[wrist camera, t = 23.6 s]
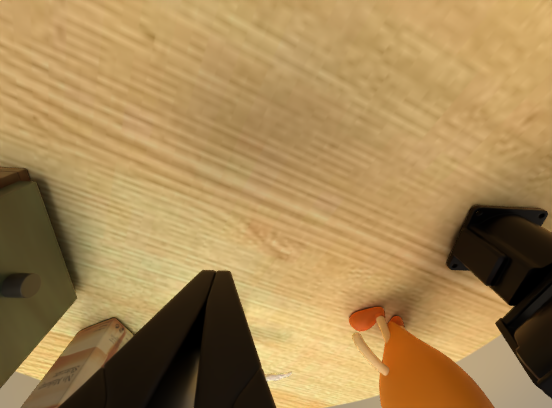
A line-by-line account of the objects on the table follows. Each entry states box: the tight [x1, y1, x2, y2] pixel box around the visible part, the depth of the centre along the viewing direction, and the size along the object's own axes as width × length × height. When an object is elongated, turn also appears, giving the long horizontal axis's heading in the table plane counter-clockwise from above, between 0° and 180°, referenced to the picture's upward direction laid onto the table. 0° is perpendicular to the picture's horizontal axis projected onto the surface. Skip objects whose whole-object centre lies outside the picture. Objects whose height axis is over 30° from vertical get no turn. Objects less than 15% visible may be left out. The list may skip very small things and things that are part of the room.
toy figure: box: [349, 307, 494, 408], centre depth 20 cm, size 12×8×15 cm
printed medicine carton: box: [21, 318, 134, 408], centre depth 23 cm, size 5×4×10 cm
